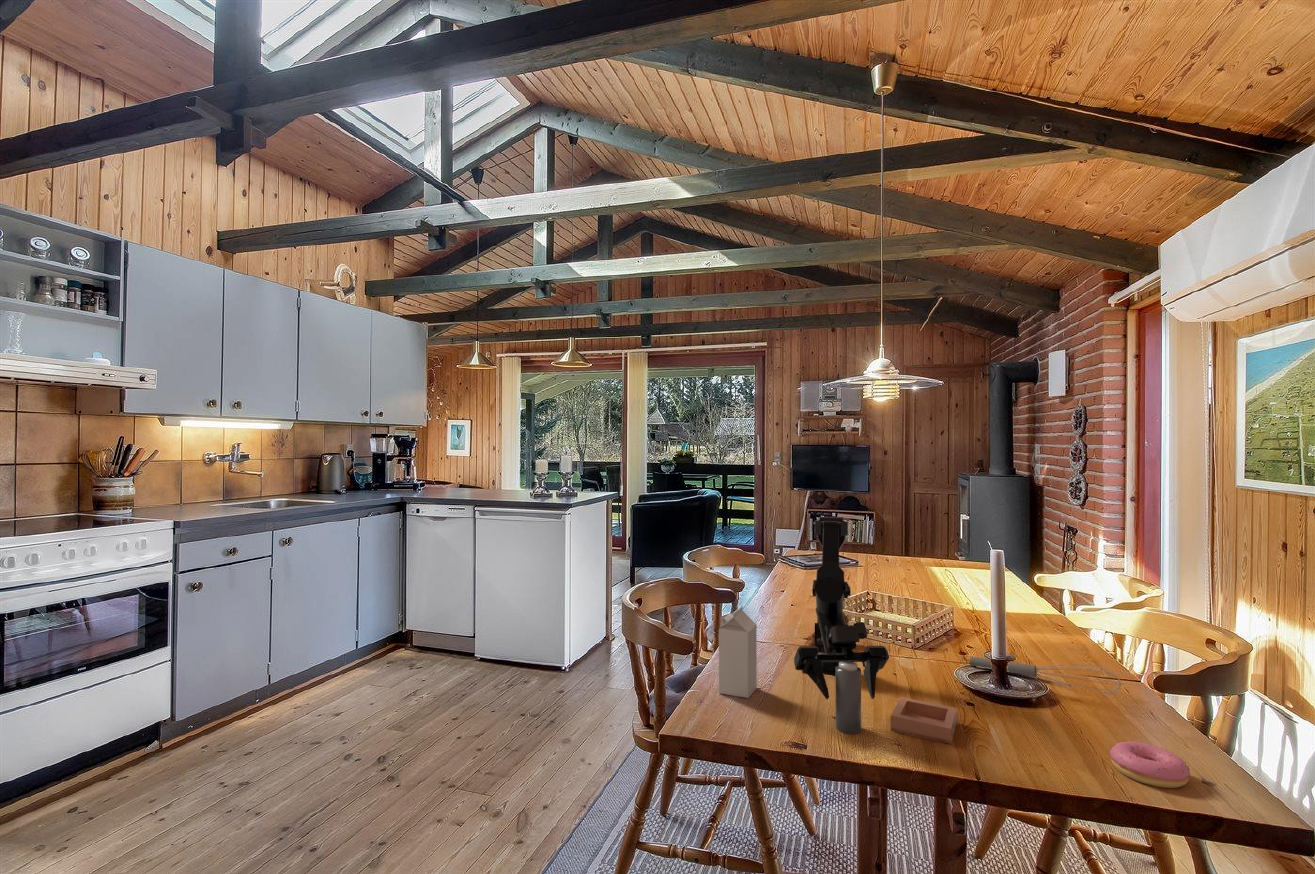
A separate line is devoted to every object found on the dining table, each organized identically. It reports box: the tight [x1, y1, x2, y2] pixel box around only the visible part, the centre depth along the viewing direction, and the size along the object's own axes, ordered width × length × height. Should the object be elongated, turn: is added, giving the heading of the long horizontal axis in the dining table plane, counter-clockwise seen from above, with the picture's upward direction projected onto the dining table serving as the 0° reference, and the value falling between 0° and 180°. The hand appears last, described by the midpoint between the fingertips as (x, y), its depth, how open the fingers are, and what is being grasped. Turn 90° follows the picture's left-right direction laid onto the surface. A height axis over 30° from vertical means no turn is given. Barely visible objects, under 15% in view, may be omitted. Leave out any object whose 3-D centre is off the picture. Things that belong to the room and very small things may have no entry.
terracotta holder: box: [890, 696, 958, 745], centre depth 124 cm, size 11×11×3 cm
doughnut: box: [1108, 740, 1191, 789], centre depth 106 cm, size 11×11×4 cm
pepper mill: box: [834, 661, 862, 735], centre depth 123 cm, size 5×5×13 cm
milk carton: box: [718, 605, 758, 699], centre depth 143 cm, size 7×7×19 cm
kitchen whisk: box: [961, 655, 1122, 697], centre depth 150 cm, size 6×34×6 cm, turn 49°
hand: (850, 698), depth 122 cm, fingers open, 9 cm apart
